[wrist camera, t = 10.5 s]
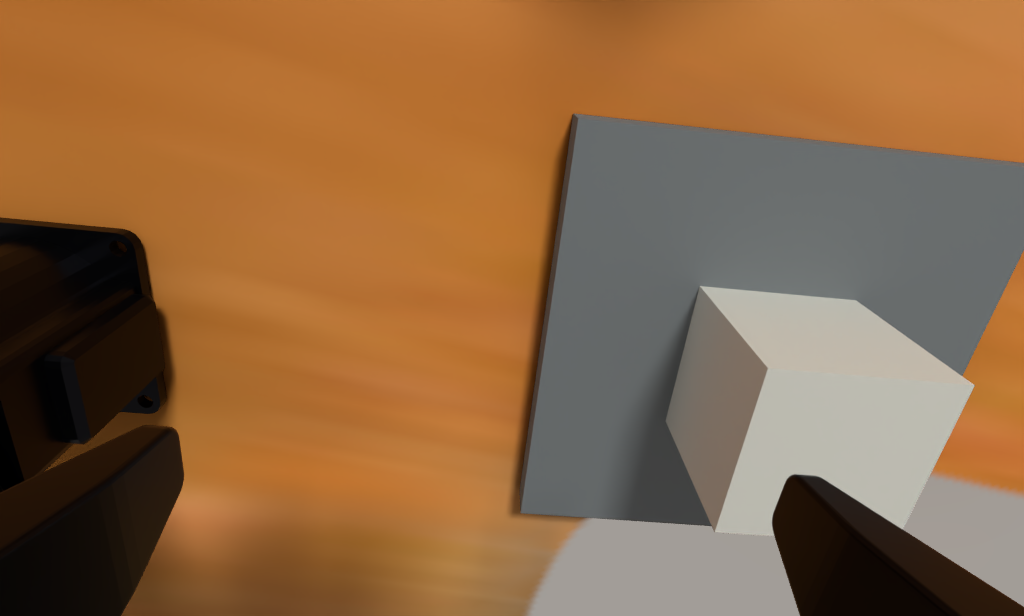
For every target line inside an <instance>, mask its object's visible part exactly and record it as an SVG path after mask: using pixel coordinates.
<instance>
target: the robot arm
mask: <svg viewBox="0 0 1024 616" xmlns="http://www.w3.org/2000/svg"><path fill="white" fill-rule="evenodd" d="M117 241H119V242H122V243H123V244H124V245H125V246H126V249H127V252H124V251H122V250H121V249H120V248H119V247H118V245H117ZM164 368H165V362H164V356H163V349H162V343H161V336H160V330H159V324H158V317H157V311H156V305H155V302H154V301H153V299H152V298H151V296H150V290H149V284H148V278H147V271H146V265H145V259H144V253H143V246H142V244H141V241H140V239H139V238H138V237H137V236H136V235H135V234H134V233H132V232H131V231H128V230H125V229H117V228H106V227H95V226H85V225H74V224H63V223H52V222H42V221H31V220H20V219H10V218H0V616H121V615H122V613H123V611H124V609H125V608H126V606H127V604H128V602H129V601H130V599H131V597H132V595H133V593H134V591H135V589H136V587H137V585H138V583H139V581H140V579H141V577H142V575H143V573H144V571H145V568H146V566H147V564H148V562H149V560H150V557H151V555H152V553H153V551H154V549H155V547H156V544H157V542H158V540H159V538H160V536H161V533H162V531H163V529H164V527H165V525H166V522H167V520H168V518H169V516H170V514H171V511H172V509H173V507H174V505H175V503H176V500H177V498H178V496H179V494H180V491H181V489H182V485H183V481H184V470H183V462H182V455H181V448H180V441H179V435H178V433H177V431H176V430H175V429H174V428H172V427H167V426H154V425H144V426H140V427H138V428H136V429H134V430H132V431H130V432H128V433H125V434H123V435H121V436H119V437H117V438H115V439H113V440H111V441H108V442H106V443H104V444H102V445H100V446H98V447H96V448H94V449H92V450H89V451H87V452H85V453H83V454H81V455H79V456H77V457H75V458H72V459H70V460H68V461H66V462H64V463H62V464H60V465H58V466H56V467H53V468H51V469H49V470H47V471H45V470H46V469H47V468H48V467H49V466H50V465H51V464H52V463H54V462H55V461H56V460H57V459H58V458H59V457H60V456H61V455H62V454H63V453H64V452H65V451H66V450H67V449H69V448H70V447H71V446H72V445H73V444H85V443H87V442H88V441H89V440H91V439H92V438H93V437H94V436H95V435H96V434H97V433H98V432H99V431H100V430H101V429H102V428H103V427H104V426H105V425H106V424H107V423H108V422H110V421H111V420H112V419H113V418H114V417H115V416H116V415H117V414H118V413H119V412H130V413H144V414H151V413H155V412H156V411H158V410H159V409H160V408H161V407H162V406H163V405H164V403H165V402H166V390H165V384H164V378H163V372H162V370H163V369H164ZM144 395H145V396H148V397H150V398H151V399H152V401H149V400H148V399H146V398H145V396H144ZM44 471H45V472H44ZM772 528H773V533H774V536H775V539H776V542H777V545H778V548H779V551H780V554H781V558H782V561H783V564H784V567H785V570H786V573H787V576H788V579H789V583H790V586H791V589H792V592H793V595H794V598H795V601H796V604H797V608H798V611H799V614H800V616H1024V607H1023V606H1021V605H1020V604H1018V603H1017V602H1015V601H1014V600H1012V599H1011V598H1009V597H1007V596H1006V595H1004V594H1003V593H1001V592H1000V591H998V590H996V589H995V588H993V587H992V586H990V585H989V584H987V583H985V582H984V581H982V580H981V579H979V578H978V577H976V576H975V575H973V574H971V573H970V572H968V571H967V570H965V569H964V568H962V567H960V566H959V565H957V564H956V563H954V562H952V561H951V560H949V559H948V558H946V557H945V556H943V555H942V554H940V553H938V552H937V551H935V550H934V549H932V548H931V547H929V546H928V545H926V544H924V543H923V542H921V541H920V540H918V539H917V538H915V537H913V536H912V535H910V534H909V533H907V532H906V531H904V530H903V529H901V528H899V527H898V526H896V525H895V524H893V523H892V522H890V521H888V520H887V519H885V518H884V517H882V516H881V515H879V514H877V513H876V512H874V511H873V510H871V509H870V508H868V507H867V506H865V505H863V504H862V503H860V502H859V501H857V500H856V499H854V498H852V497H851V496H849V495H848V494H846V493H845V492H843V491H842V490H840V489H838V488H837V487H835V486H834V485H832V484H831V483H829V482H827V481H826V480H824V479H823V478H821V477H818V476H814V475H801V474H794V475H791V476H789V477H788V478H787V480H786V482H785V484H784V487H783V489H782V492H781V495H780V497H779V500H778V502H777V505H776V507H775V510H774V513H773V517H772Z"/></svg>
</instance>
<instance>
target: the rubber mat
mask: <svg viewBox="0 0 1024 616" xmlns="http://www.w3.org/2000/svg"><path fill="white" fill-rule="evenodd" d="M1023 250H1024V163H1018V162H1009V161H1000V160H991V159H982V158H973V157H963V156H954V155H945V154H936V153H927V152H918V151H909V150H900V149H891V148H882V147H873V146H863V145H854V144H845V143H836V142H827V141H818V140H809V139H800V138H791V137H782V136H773V135H764V134H754V133H745V132H736V131H727V130H718V129H709V128H700V127H691V126H682V125H673V124H664V123H655V122H645V121H636V120H627V119H618V118H609V117H600V116H591V115H582V114H573V119H572V126H571V133H570V140H569V147H568V154H567V161H566V168H565V175H564V182H563V189H562V196H561V203H560V210H559V217H558V224H557V231H556V238H555V245H554V252H553V259H552V266H551V273H550V280H549V287H548V294H547V301H546V309H545V316H544V323H543V330H542V337H541V344H540V351H539V358H538V365H537V372H536V379H535V386H534V393H533V400H532V407H531V414H530V421H529V428H528V435H527V442H526V449H525V456H524V463H523V470H522V477H521V484H520V510H521V513H526V514H541V515H556V516H571V517H585V518H600V519H616V520H631V521H645V522H660V523H675V524H689V525H690V524H691V525H705V526H712V525H711V523H710V521H709V519H708V516H707V514H706V512H705V509H704V507H703V505H702V503H701V500H700V498H699V496H698V494H697V491H696V489H695V487H694V485H693V482H692V480H691V478H690V475H689V473H688V471H687V469H686V466H685V464H684V462H683V460H682V457H681V455H680V453H679V451H678V448H677V446H676V444H675V441H674V439H673V437H672V435H671V432H670V430H669V428H668V426H667V423H666V417H667V413H668V409H669V405H670V401H671V397H672V393H673V390H674V386H675V382H676V378H677V374H678V370H679V366H680V362H681V358H682V354H683V350H684V346H685V342H686V338H687V334H688V330H689V327H690V323H691V319H692V315H693V311H694V307H695V303H696V299H697V295H698V291H699V287H700V286H704V287H715V288H726V289H737V290H748V291H759V292H770V293H781V294H792V295H803V296H814V297H825V298H836V299H847V300H856V301H858V302H859V303H860V304H862V305H863V306H865V307H866V308H867V309H869V310H870V311H872V312H873V313H874V314H876V315H877V316H879V317H880V318H881V319H883V320H884V321H886V322H887V323H888V324H890V325H891V326H893V327H894V328H895V329H897V330H898V331H899V332H901V333H902V334H904V335H905V336H906V337H908V338H909V339H911V340H912V341H913V342H915V343H916V344H918V345H919V346H920V347H922V348H923V349H925V350H926V351H927V352H929V353H930V354H932V355H933V356H934V357H936V358H937V359H939V360H940V361H941V362H943V363H944V364H946V365H947V366H948V367H950V368H951V369H953V370H954V371H955V372H957V373H958V374H960V375H961V376H963V373H964V371H965V369H966V367H967V365H968V363H969V361H970V359H971V357H972V355H973V353H974V351H975V349H976V347H977V345H978V343H979V341H980V339H981V337H982V334H983V332H984V330H985V328H986V326H987V324H988V322H989V320H990V318H991V316H992V314H993V312H994V310H995V308H996V306H997V304H998V302H999V300H1000V298H1001V296H1002V293H1003V291H1004V289H1005V287H1006V285H1007V283H1008V281H1009V279H1010V277H1011V275H1012V273H1013V271H1014V269H1015V267H1016V265H1017V263H1018V261H1019V259H1020V257H1021V254H1022V252H1023Z"/></svg>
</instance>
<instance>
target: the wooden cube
mask: <svg viewBox="0 0 1024 616" xmlns="http://www.w3.org/2000/svg"><path fill="white" fill-rule="evenodd" d="M974 386H975V385H973V384H972V383H971V382H969V381H968V380H966V379H965V378H964V377H962V376H961V375H960V374H958V373H957V372H955V371H954V370H953V369H951V368H950V367H948V366H947V365H946V364H944V363H943V362H941V361H940V360H939V359H937V358H936V357H934V356H933V355H932V354H930V353H929V352H927V351H926V350H925V349H923V348H922V347H920V346H919V345H918V344H916V343H915V342H913V341H912V340H911V339H909V338H908V337H906V336H905V335H904V334H902V333H901V332H899V331H898V330H897V329H895V328H894V327H893V326H891V325H890V324H888V323H887V322H886V321H884V320H883V319H881V318H880V317H879V316H877V315H876V314H874V313H873V312H872V311H870V310H869V309H867V308H866V307H865V306H863V305H862V304H860V303H859V302H858V301H856V300H847V299H836V298H825V297H814V296H803V295H792V294H781V293H770V292H759V291H748V290H737V289H726V288H715V287H704V286H700V287H699V291H698V295H697V299H696V303H695V307H694V311H693V315H692V319H691V323H690V327H689V330H688V334H687V338H686V342H685V346H684V350H683V354H682V358H681V362H680V366H679V370H678V374H677V378H676V382H675V386H674V390H673V393H672V397H671V401H670V405H669V409H668V413H667V417H666V423H667V426H668V428H669V430H670V432H671V435H672V437H673V439H674V441H675V444H676V446H677V448H678V451H679V453H680V455H681V457H682V460H683V462H684V464H685V466H686V469H687V471H688V473H689V475H690V478H691V480H692V482H693V485H694V487H695V489H696V491H697V494H698V496H699V498H700V500H701V503H702V505H703V507H704V509H705V512H706V514H707V516H708V519H709V521H710V523H711V525H712V527H713V530H714V532H717V533H733V534H748V535H763V536H774V533H773V528H772V517H773V513H774V510H775V507H776V505H777V502H778V500H779V497H780V495H781V492H782V489H783V487H784V484H785V482H786V480H787V478H788V477H789V476H791V475H794V474H801V475H814V476H818V477H821V478H823V479H824V480H826V481H827V482H829V483H831V484H832V485H834V486H835V487H837V488H838V489H840V490H842V491H843V492H845V493H846V494H848V495H849V496H851V497H852V498H854V499H856V500H857V501H859V502H860V503H862V504H863V505H865V506H867V507H868V508H870V509H871V510H873V511H874V512H876V513H877V514H879V515H881V516H882V517H884V518H885V519H887V520H888V521H890V522H892V523H893V524H895V525H896V526H898V527H899V528H901V529H903V528H904V526H905V524H906V522H907V520H908V518H909V516H910V514H911V512H912V510H913V508H914V506H915V504H916V502H917V500H918V498H919V496H920V494H921V492H922V490H923V488H924V486H925V484H926V482H927V480H928V478H929V476H930V474H931V472H932V470H933V468H934V466H935V464H936V462H937V460H938V458H939V456H940V454H941V452H942V450H943V448H944V446H945V444H946V442H947V440H948V438H949V436H950V434H951V432H952V430H953V428H954V426H955V424H956V422H957V420H958V418H959V416H960V414H961V412H962V410H963V408H964V406H965V404H966V402H967V400H968V398H969V396H970V394H971V392H972V390H973V388H974Z"/></svg>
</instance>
